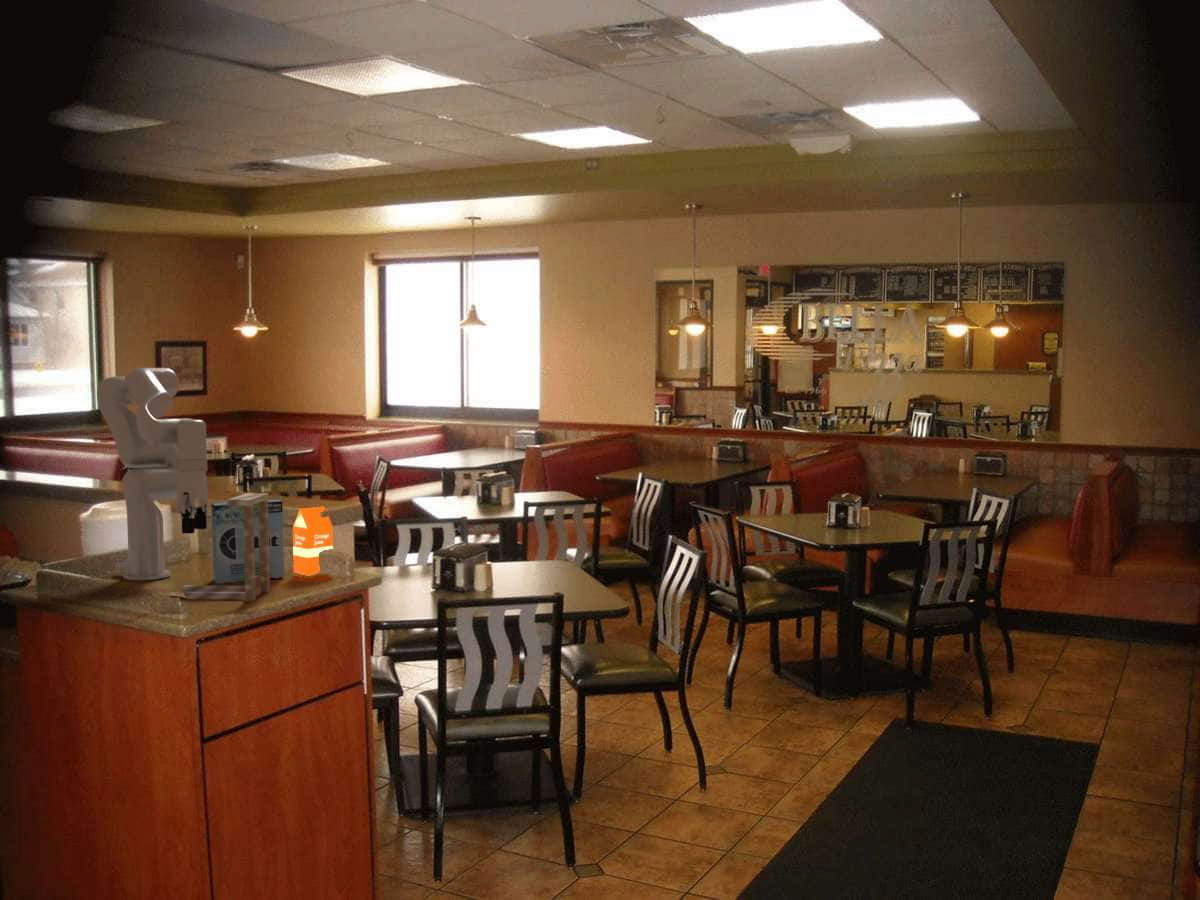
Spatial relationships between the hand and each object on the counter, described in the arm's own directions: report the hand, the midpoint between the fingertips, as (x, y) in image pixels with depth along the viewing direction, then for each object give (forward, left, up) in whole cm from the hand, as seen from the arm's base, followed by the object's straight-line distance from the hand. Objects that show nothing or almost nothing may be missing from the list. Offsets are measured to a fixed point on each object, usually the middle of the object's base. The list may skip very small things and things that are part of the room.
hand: (194, 530), depth 300 cm
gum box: (+7, +23, -18) cm, 30 cm away
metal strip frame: (+5, 0, -18) cm, 18 cm away
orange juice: (+23, +32, -18) cm, 43 cm away
